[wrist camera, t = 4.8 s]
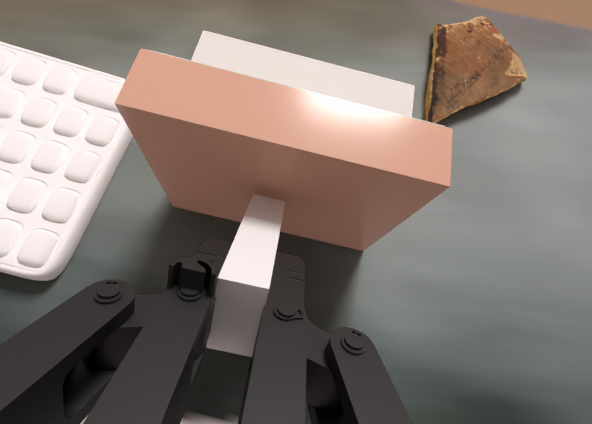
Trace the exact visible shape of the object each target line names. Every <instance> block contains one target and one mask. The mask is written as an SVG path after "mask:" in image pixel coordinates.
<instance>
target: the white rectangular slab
mask: <svg viewBox="0 0 592 424" xmlns="http://www.w3.org/2000/svg"><path fill="white" fill-rule="evenodd" d="M191 61H195V62H199V63H202V64H206V65H210V66H214V67H218V68H222V69H226V70H230V71H233V72H237V73H241V74H245V75H249V76H253V77H257V78H261V79H265V80H268V81H272V82H276V83H280V84H284V85H288V86H292V87H296V88H299V89H303V90H307V91H311V92H315V93H319V94H323V95H327V96H331V97H334V98H338V99H342V100H346V101H350V102H354V103H358V104H362V105H365V106H369V107H373V108H377V109H381V110H385V111H389V112H393V113H397V114H400V115H404V116H408V117H412V108H413V98H414V88H415V86H414V85H410V84H406V83H403V82H399V81H395V80H391V79H387V78H384V77H380V76H376V75H372V74H368V73H365V72H361V71H357V70H353V69H349V68H345V67H342V66H338V65H334V64H330V63H326V62H323V61H319V60H315V59H311V58H307V57H303V56H300V55H296V54H292V53H288V52H284V51H281V50H277V49H273V48H269V47H265V46H262V45H258V44H254V43H250V42H246V41H242V40H239V39H235V38H231V37H227V36H223V35H220V34H216V33H212V32H208V31H204V30H203V32H202V35H201V37H200V40H199V42H198V45H197V47H196V50H195V52H194V55H193V57H192V60H191Z"/></svg>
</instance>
